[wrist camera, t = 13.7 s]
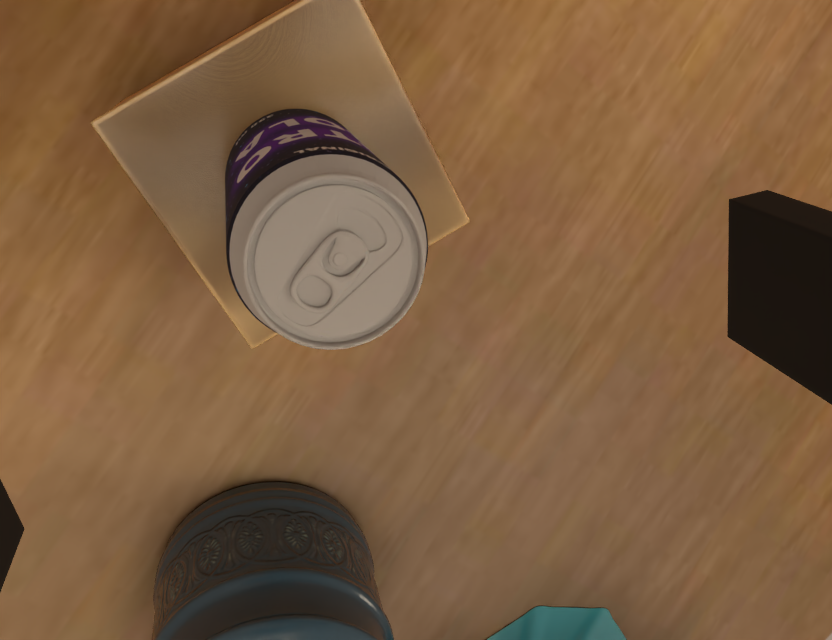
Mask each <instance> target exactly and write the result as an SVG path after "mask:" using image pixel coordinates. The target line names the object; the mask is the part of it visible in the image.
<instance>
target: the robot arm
mask: <svg viewBox="0 0 832 640" xmlns="http://www.w3.org/2000/svg"><path fill="white" fill-rule="evenodd" d="M728 337H729V338H730V339H732V340H733V341H735V342H736V343H738V344H740V345H741V346H743V347H744V348H746V349H747V350H749V351H750V352H752V353H753V354H755V355H756V356H758V357H759V358H761V359H763V360H764V361H766V362H767V363H769V364H770V365H772V366H773V367H775V368H776V369H778V370H779V371H781V372H782V373H784V374H786V375H787V376H789V377H790V378H792V379H793V380H795V381H796V382H798V383H799V384H801V385H802V386H804V387H805V388H807V389H809V390H810V391H812V392H813V393H815V394H816V395H818V396H819V397H821V398H822V399H824V400H825V401H827V402H828V403H830V404H832V212H831V211H828V210H825V209H822V208H819V207H816V206H813V205H810V204H807V203H804V202H801V201H798V200H795V199H792V198H789V197H786V196H783V195H780V194H777V193H774V192H772V191H769V190H766V191H762V192H758V193H754V194H750V195H745V196H741V197H737V198H733V199H729V256H728ZM23 531H24V527H23V525H22V523H21V521H20V519H19V517H18V514H17V512H16V510H15V508H14V506H13V504H12V502H11V500H10V498H9V496H8V494H7V492H6V490H5V488H4V486H3V484H2V482H1V480H0V591H1V589H2V586H3V584H4V581H5V578H6V576H7V573H8V570H9V568H10V565H11V563H12V560H13V557H14V555H15V552H16V550H17V547H18V544H19V542H20V539H21V537H22V534H23Z"/></svg>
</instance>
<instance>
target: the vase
mask: <svg viewBox="0 0 832 640" xmlns="http://www.w3.org/2000/svg"><path fill="white" fill-rule="evenodd" d="M487 640H627V639H626V638H625V636H624V635H623V633H622V632H621V630H620V629H619V627H618V626H617V624H616V623H615V621H614V620H613V618H612V616H611V614H610V612H609V611H608V610H607V609H605V608H567V607H547V606H538V607H535V608H533V609H532V610H530V611H529V612H527V613H526V614H525V615H524V616H522V617H521V618H519V619H517V620H516V621H514V622H513V623H511V624H510V625H508V626H507V627H505V628H504V629H502V630H500V631H499V632H497V633H496V634H494V635H493V636H491V637H490V638H488V639H487Z"/></svg>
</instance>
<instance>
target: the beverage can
mask: <svg viewBox="0 0 832 640" xmlns="http://www.w3.org/2000/svg"><path fill="white" fill-rule="evenodd" d="M225 211H226V258H227V266H228V270H229V275H230V278H231V281H232V284H233V286H234V288H235V290H236V292H237V294H238V296H239V298H240V299H241V301H242V303H243V304H244V305H245V307H246V308H247V309H248V310H249V311H250V313H251V314H252V315H253V316H254V317H255V318H256V319H257V320H259V321H260V322H261V323H262V324H263V325H265V326H266V327H268V328H269V329H271V330H272V331H274V332H276V333H278V334H280V335H282V336H283V337H285V338H287V339H288V340H290V341H293V342H295V343H298V344H300V345H303V346H307V347H311V348H315V349H326V350H334V349H345V348H350V347H355V346H359V345H361V344H364V343H367V342H370V341H372V340H374V339H375V338H377V337H379V336H381V335H383V334H384V333H385V332H387V331H388V330H390V329H391V328H392V327H393V326H394V325H396V324H397V323H398V322H399V321H400V320H401V319H402V318H403V316H404V315H405V314H406V313H407V311H408V310H409V309H410V307H411V306H412V304H413V302H414V300H415V298H416V297H417V295H418V292H419V289H420V287H421V284H422V280H423V276H424V270H425V266H426V261H427V254H428V236H427V228H426V223H425V220H424V216H423V213H422V211H421V208H420V206H419V204H418V202H417V200H416V198H415V197H414V195H413V193H412V192H411V191H410V189H409V188H408V187H407V185H406V184H405V183H404V182H403V181H402V180H401V179H400V178H399V177H398V176H397V175H396V174H395V173H394V172H393V171H392V170H391V169H390V168H388V167H387V166H386V165H385V164H384V163H383V162H382V161H381V160H380V159H379V158H378V157H377V156H375V155H374V154H373V153H372V152H371V151H370V150H369V149H368V148H367V147H366V146H365V145H364V144H362V143H361V142H360V141H359V140H358V139H357V138H356V137H355V136H354V135H353V134H352V133H351V132H349V131H348V130H347V129H346V128H345V127H344V126H343V125H342V124H340V123H339V122H338V121H336V120H334V119H333V118H331V117H329V116H327V115H325V114H322V113H320V112H317V111H313V110H308V109H285V110H280V111H276V112H273V113H270V114H267V115H265V116H263V117H261V118H260V119H258V120H256V121H255V122H254V123H252V124H251V125H250V126H249V127H247V128H246V129H245V130H244V131H243V133H242V134H241V135H240V136H239V138H238V139H237V140H236V142H235V144H234V145H233V147H232V149H231V152H230V154H229V157H228V160H227V165H226V171H225Z"/></svg>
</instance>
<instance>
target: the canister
mask: <svg viewBox="0 0 832 640" xmlns="http://www.w3.org/2000/svg"><path fill="white" fill-rule="evenodd" d="M153 601H154V610H155V615H154V624H153V633H152V640H394V638H393V633H392V629H391V626H390V623H389V621H388V619H387V617H386V615H385V613H384V611H383V608H382V604H381V601H380V597H379V593H378V590H377V586H376V582H375V579H374V565H373V560H372V556H371V553H370V549H369V546H368V543H367V541H366V538H365V536H364V535H363V533H362V531H361V529H360V528H359V526H358V525H357V524H356V522H355V521H354V519H353V518H352V516H351V515H350V514H349V512H348V511H347V510H346V509H345V508H344V507H343V506H342V505H341V504H339V503H338V502H337V501H336V500H334V499H333V498H331V497H330V496H328V495H326V494H324V493H322V492H320V491H318V490H315V489H313V488H310V487H306V486H303V485H298V484H293V483H284V482H265V483H256V484H251V485H246V486H242V487H238V488H235V489H232V490H229V491H227V492H224V493H222V494H220V495H218V496H215V497H214V498H212V499H210V500H208V501H207V502H205V503H204V504H202V505H201V506H199V507H198V508H197V509H195V510H194V511H193V512H192V513H191V514H190V515H188V516H187V517H186V518H185V520H184V521H183V522H182V523H181V524H180V525H179V526H178V528H177V529H176V531H175V532H174V533H173V535H172V537H171V538H170V540H169V542H168V545H167V547H166V549H165V551H164V553H163V555H162V558H161V560H160V563H159V565H158V569H157V573H156V578H155V586H154V595H153Z"/></svg>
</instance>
